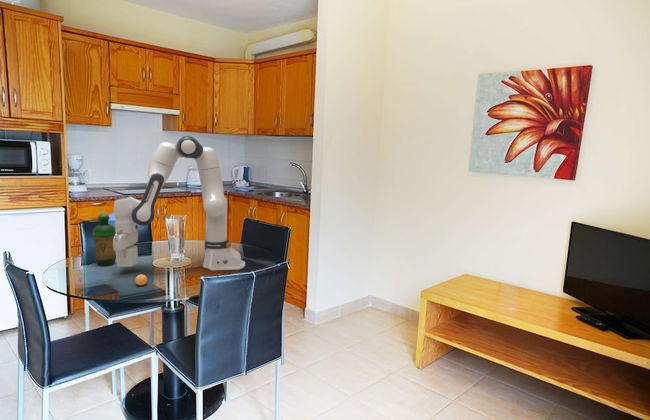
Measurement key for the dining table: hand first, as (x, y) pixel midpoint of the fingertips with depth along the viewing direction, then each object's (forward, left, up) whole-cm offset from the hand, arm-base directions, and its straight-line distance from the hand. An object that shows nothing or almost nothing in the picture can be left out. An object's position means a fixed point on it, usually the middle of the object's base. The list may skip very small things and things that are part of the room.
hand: (126, 255), depth 207 cm
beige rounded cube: (0, 0, -5) cm, 5 cm away
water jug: (+21, -36, -9) cm, 42 cm away
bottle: (+17, -12, -9) cm, 22 cm away
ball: (-14, +19, -6) cm, 25 cm away
